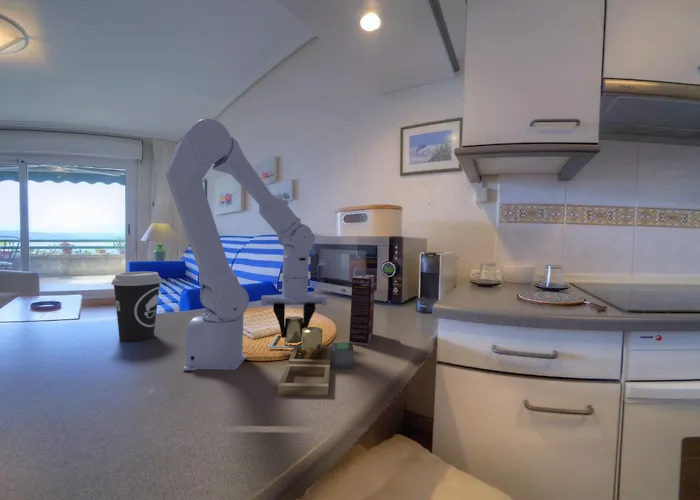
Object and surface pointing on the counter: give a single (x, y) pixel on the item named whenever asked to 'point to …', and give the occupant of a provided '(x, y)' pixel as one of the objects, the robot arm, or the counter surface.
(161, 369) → the counter surface
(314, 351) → the seated billet
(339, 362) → the button pedestal
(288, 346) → the grey square frame
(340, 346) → the button
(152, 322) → the coffee cup
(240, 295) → the robot arm
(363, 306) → the supplement box
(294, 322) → the cylinder
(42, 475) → the counter surface
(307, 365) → the holder tray
